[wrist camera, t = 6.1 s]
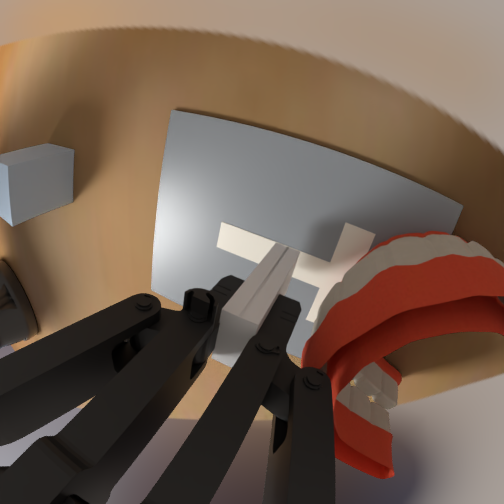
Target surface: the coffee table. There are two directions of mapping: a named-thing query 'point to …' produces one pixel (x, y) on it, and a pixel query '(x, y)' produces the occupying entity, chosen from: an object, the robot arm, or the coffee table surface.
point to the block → (35, 181)
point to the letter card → (275, 210)
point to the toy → (396, 329)
